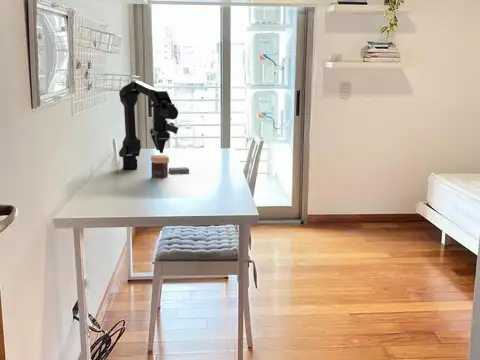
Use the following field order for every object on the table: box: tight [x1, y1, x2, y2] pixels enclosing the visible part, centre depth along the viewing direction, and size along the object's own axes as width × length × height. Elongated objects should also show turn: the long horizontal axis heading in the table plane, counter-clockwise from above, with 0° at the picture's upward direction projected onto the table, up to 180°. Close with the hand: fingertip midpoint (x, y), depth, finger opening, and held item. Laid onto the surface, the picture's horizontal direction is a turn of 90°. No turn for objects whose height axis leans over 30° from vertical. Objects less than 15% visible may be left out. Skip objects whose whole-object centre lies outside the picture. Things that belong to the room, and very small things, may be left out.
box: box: [151, 161, 169, 179], centre depth 250 cm, size 6×6×7 cm
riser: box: [168, 166, 190, 175], centre depth 262 cm, size 9×5×2 cm, turn 108°
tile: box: [150, 154, 170, 164], centre depth 249 cm, size 7×7×2 cm
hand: (159, 151), depth 248 cm, fingers open, 9 cm apart
